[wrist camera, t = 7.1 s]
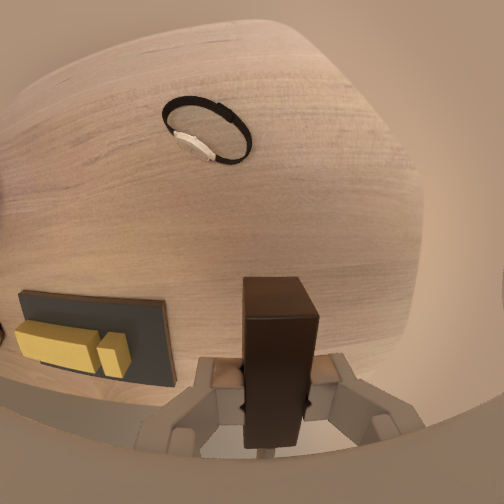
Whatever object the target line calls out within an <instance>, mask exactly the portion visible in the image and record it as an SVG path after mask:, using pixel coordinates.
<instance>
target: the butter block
mask: <svg viewBox="0 0 504 504" xmlns="http://www.w3.org/2000/svg"><path fill="white" fill-rule="evenodd" d="M14 333H15V336H16V339H17V341H18V344H19V347H20V349H21V352H22V354H23V356H25V357H28V358H32V359H35V360H39V361H42V362H46V363H50V364H54V365H58V366H62V367H66V368H71V369H75V370H80V371H84V372H89V373H96V371H97V370H98V368H99V367H100V365H101V361H100V357H99V354H98V351H97V346H98V345H99V343H100V342H101V340H100V336H99V332H98V331H97V330H89V329H82V328H75V327H68V326H62V325H56V324H50V323H44V322H38V321H33V320H28V319H27V320H26V321H25V322H23V323H22V324H21V325H20V326H19V327H18V328H16V329H15V330H14Z"/></svg>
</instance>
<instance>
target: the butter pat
mask: <svg viewBox="0 0 504 504" xmlns="http://www.w3.org/2000/svg"><path fill="white" fill-rule="evenodd" d="M97 351H98V354H99V357H100V361H101V364H102V367H103V370H104V373H105V375H106V376H111V377H117V378H123V377H124V375H125V373H126V371H127V369H128V367H129V365H130V363H131V361H132V360H131V356H130V352H129V348H128V344H127V340H126V335H125V333H116V332H108V333H107V334H106V335H105V337H104V338H103V339H102V341H101V342H100V343H99V345H98V346H97Z"/></svg>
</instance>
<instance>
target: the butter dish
mask: <svg viewBox="0 0 504 504" xmlns="http://www.w3.org/2000/svg"><path fill="white" fill-rule="evenodd" d="M18 296H19V300H20V304H21V307H22V311H23V314H24V318H25V321H26V320H27V319H28V320H33V321H38V322H44V323H50V324H56V325H62V326H68V327H75V328H82V329H89V330H97V331H98V332H99V336H100V340H101V341H102V339H103V338H104V337H105V335H106V334H107V333H108V332H116V333H125V335H126V340H127V344H128V348H129V352H130V356H131V360H132V361H131V363H130V365H129V367H128V369H127V371H126V373H125V375H124V377H123V378H117V377H111V376H106V375H105V373H104V370H103V367H102V364H101V365H100V367H99V368H98V370H97V371H96V373H89V372H84V371H80V370H75V369H71V368H66V367H62V366H58V365H54V364H50V363H46V362H42V361H40V362H41V364H44V365H47V366H51V367H55V368H59V369H63V370H67V371H72V372H76V373H81V374H85V375H90V376H95V377H101V378H106V379H112V380H118V381H125V382H131V383H139V384H147V385H155V386H165V387H175V385H176V381H177V380H176V375H175V369H174V363H173V357H172V351H171V345H170V338H169V331H168V324H167V317H166V309H165V301H153V300H133V299H116V298H101V297H88V296H76V295H64V294H54V293H44V292H35V291H26V290H23V291H21V292H20V293H18Z"/></svg>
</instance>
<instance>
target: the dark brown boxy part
mask: <svg viewBox="0 0 504 504" xmlns="http://www.w3.org/2000/svg"><path fill="white" fill-rule="evenodd" d="M319 317H320V316H319V314H318V312H317V310H316V308H315V306H314V305H313V303H312V301H311V299H310V297H309V295H308V294H307V292H306V290H305V288H304V286H303V285H302V283H301V281H300V279H299V277H243V299H242V358H243V363H244V425H243V436H244V448H245V449H257V458H256V459H259V458H274V454H275V448H278V447H291V446H296V443H297V439H298V434H299V430H300V425H301V421H302V411H303V405H304V401H305V399H306V397H307V393H306V389H307V384H308V378H309V376H310V375H311V369H312V363H313V357H314V351H315V345H316V338H317V331H318V324H319Z"/></svg>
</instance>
